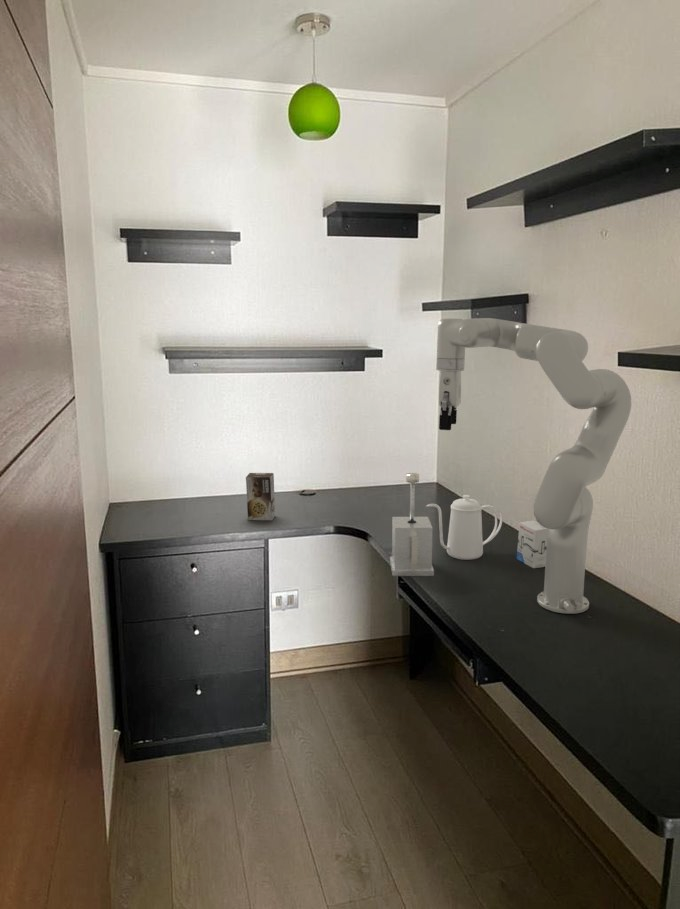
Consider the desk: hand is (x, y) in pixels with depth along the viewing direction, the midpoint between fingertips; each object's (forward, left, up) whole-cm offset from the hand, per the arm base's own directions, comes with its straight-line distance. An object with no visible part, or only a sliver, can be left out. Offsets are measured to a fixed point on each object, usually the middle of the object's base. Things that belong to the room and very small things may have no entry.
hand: (447, 426), depth 191 cm
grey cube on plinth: (-1, +9, -42) cm, 43 cm away
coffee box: (+50, +58, -42) cm, 88 cm away
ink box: (+4, -27, -42) cm, 50 cm away
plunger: (0, +9, -32) cm, 33 cm away
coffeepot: (+11, -8, -42) cm, 44 cm away
